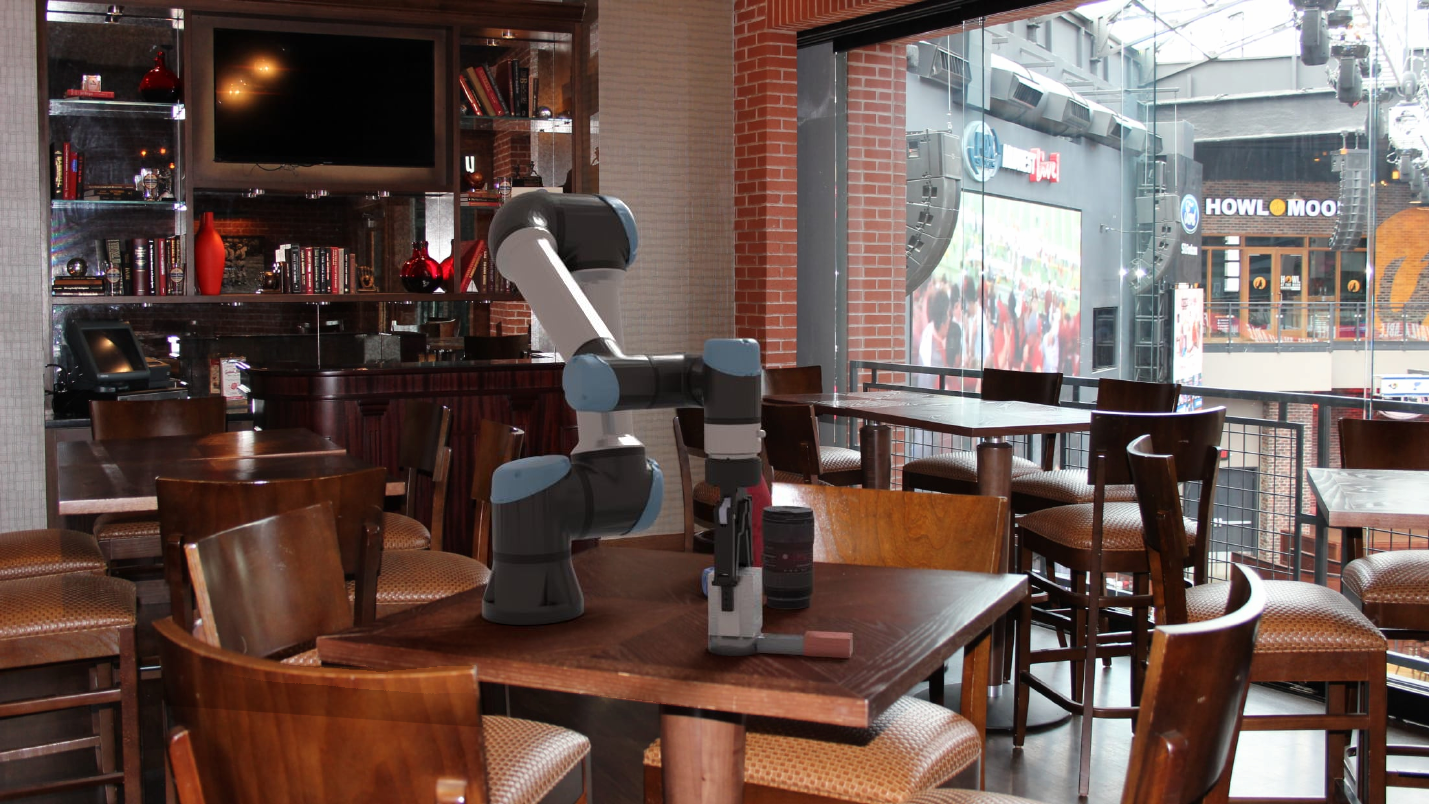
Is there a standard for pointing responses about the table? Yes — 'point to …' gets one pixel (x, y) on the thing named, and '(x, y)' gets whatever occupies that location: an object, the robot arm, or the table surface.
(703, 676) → the table surface
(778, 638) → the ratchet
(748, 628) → the light grey block
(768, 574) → the camera lens
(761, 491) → the wine bottle
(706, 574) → the decorative dice
